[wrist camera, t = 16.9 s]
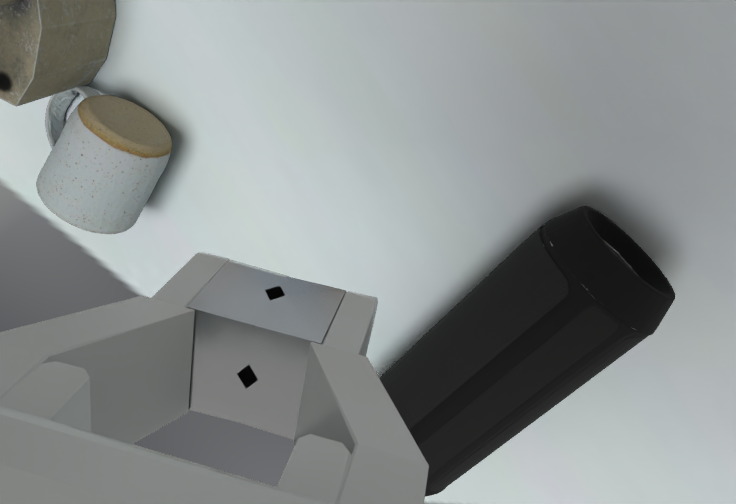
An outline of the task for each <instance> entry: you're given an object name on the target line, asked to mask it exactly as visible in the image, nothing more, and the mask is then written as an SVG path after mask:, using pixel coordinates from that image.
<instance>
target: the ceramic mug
mask: <svg viewBox="0 0 736 504" xmlns="http://www.w3.org/2000/svg"><path fill="white" fill-rule="evenodd" d="M78 92H79V93H80V94H81V95H83V97H84V98H85V99H84V100H83V101H82V102H80V104H79V105H78V106H77V107H76V108H75V109H74V111H73V112H72V113H71V115H70V117H69V118H68V120H67V122H66V124H65V126H64V117H65V112H66V110H67V108H68V106H69V105H70V103H71V102H72V100H73V99H74V98H75V97H76V95H77V93H78ZM45 126H46V132H47V137H48V140H49V143H50V146H51V148H52V151H51V153H50V155H49V157H48V158H47V160H46V162H45V164H44V166H43V168H42V170H41V171H40V173H39V175H38V178H37V182H36V186H37V191H38V194H39V196H40V198H41V199H42V201H43V203H44V204H45V205H46V207H47V208H49V209H50V210H51V211H52V212H53V213H54V214H56V215H57V216H58V217H59V218H61V219H62V220H64V221H66V222H68V223H69V224H71V225H74V226H76V227H78V228H81V229H83V230H86V231H90V232H94V233H101V234H116V233H121V232H124V231H126V230H128V229H129V228H131V227H132V226H133V225H134V224H135V223H136V221H137V219H138V217H139V215H140V213H141V212H142V210H143V208H144V206H145V204H146V202H147V201H148V199H149V197H150V195H151V193H152V191H153V189H154V187H155V185H156V183H157V181H158V179H159V178H160V176H161V174H162V173H163V171H164V169H165V167H166V165H167V163H168V160H169V157H170V153H171V149H172V141H171V137H170V135H169V133H168V131H167V130H166V128H165V127H164V125H163V124H162V123H161V122H160V121H159V120H158V119H157V118H156V117H155V116H154V115H152V114H151V113H150V112H148V111H147V110H145V109H143V108H142V107H140V106H138V105H136V104H135V103H132V102H130V101H128V100H125V99H122V98H119V97H115V96H109V95H100V94H99V93H98V92H97V91H95V90H94V89H92V88H91V87H88V86H84V85H83V86H77V87H75V88H73V89H70V90H67V91H64V92H60V93H57V94H54V95H52V97H51V99H50V100H49V103H48V106H47V110H46V116H45Z"/></svg>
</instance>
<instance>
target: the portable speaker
mask: <svg viewBox="0 0 736 504" xmlns="http://www.w3.org/2000/svg"><path fill="white" fill-rule="evenodd" d="M674 299H675V293H674V291H673V288H672V286H671V285H670V283H669V282H668V280H667V278H666V277H665V276H664V274H663V273H662V272H661V270H660V269H659V268H658V267H657V265H656V264H655V263H654V262H653V261H652V260H651V258H650V257H649V256H648V255H647V254H646V253H645V252H644V251H643V250H642V249H641V248H640V247H639V246H638V245H637V244H636V243H635V242H634V241H633V240H632V239H631V238H630V237H629V236H628V235H627V234H626V233H625V232H624V231H623V230H621V229H620V228H619V227H618V226H617V225H616V224H615V223H613V222H612V221H611V220H609V219H608V218H607V217H605V216H604V215H603V214H601V213H600V212H598V211H596V210H595V209H593V208H590V207H587V206H583V207H580V208H578V209H575V210H573V211H571V212H568V213H566V214H564V215H561V216H559V217H557V218H555V219H552V220H550V221H548V222H546V223H545V225H542V226H541V227H540V228H539V229H538V230H537V231H536V232H535V233H533V234H532V235H531V236H530V237H529V238H528V239H527V240H526V241H525V242H524V243H523V244H521V245H520V246H519V247H518V248H517V249H516V250H515V251H514V252H513V253H512V254H511V255H510V256H509V257H508V258H507V259H506V260H504V261H503V262H502V263H501V264H500V265H499V266H498V267H497V268H496V269H495V270H494V271H493V272H492V273H491V274H490V275H489V276H488V277H486V278H485V279H484V280H483V281H482V282H481V283H480V284H479V285H478V286H477V287H476V288H475V289H474V290H473V291H472V292H471V293H469V294H468V295H467V296H466V297H465V298H464V299H463V300H462V301H461V302H460V303H459V304H458V305H457V306H456V307H455V308H454V309H452V310H451V311H450V312H449V313H448V314H447V315H446V316H445V317H444V318H443V319H442V320H441V321H440V322H439V323H438V324H437V325H435V326H434V327H433V328H432V329H431V330H430V331H429V332H428V333H427V334H426V335H425V336H424V337H423V338H422V339H421V340H420V341H418V342H417V343H416V344H415V345H414V346H413V347H412V348H411V349H410V350H409V351H408V352H407V353H406V354H405V355H404V356H403V357H402V358H400V359H399V360H398V361H397V362H396V363H395V364H394V365H393V366H392V367H391V368H390V369H389V370H388V371H387V372H386V373H385V374H383V375H382V376H381V377H380V378H379V379H380V381H381V382H382V384H383V386H384V388H385V389H386V391H387V393H388V395H389V396H390V398H391V400H392V402H393V404H394V405H395V407H396V409H397V411H398V412H399V414H400V416H401V418H402V419H403V421H404V423H405V425H406V426H407V428H408V430H409V432H410V433H411V435H412V437H413V439H414V440H415V442H416V444H417V446H418V447H419V449H420V451H421V453H422V455H423V456H424V458H425V460H426V462H427V463H428V465H429V469H428V476H427V484H426V491H425V496H430V495H434V494H437V493H439V492H441V491H442V490H444V489H445V488H446V487H447V486H448V485H449V484H451V483H452V482H453V481H455V480H456V479H458V478H459V477H460V476H462V475H463V474H464V473H466V472H467V471H468V470H470V469H471V468H472V467H474V466H475V465H476V464H478V463H479V462H480V461H482V460H483V459H484V458H486V457H487V456H488V455H490V454H491V453H492V452H494V451H495V450H496V449H498V448H499V447H500V446H502V445H503V444H504V443H506V442H507V441H508V440H510V439H511V438H512V437H514V436H515V435H516V434H518V433H519V432H520V431H522V430H523V429H524V428H526V427H527V426H528V425H530V424H531V423H532V422H534V421H535V420H536V419H538V418H539V417H540V416H542V415H543V414H544V413H546V412H547V411H548V410H550V409H551V408H553V407H554V406H555V405H557V404H558V403H559V402H561V401H562V400H563V399H565V398H566V397H567V396H569V395H570V394H571V393H573V392H574V391H575V390H577V389H578V388H579V387H581V386H582V385H583V384H585V383H586V382H587V381H589V380H590V379H591V378H593V377H594V376H595V375H597V374H598V373H599V372H601V371H602V370H603V369H605V368H606V367H607V366H609V365H610V364H611V363H613V362H614V361H615V360H617V359H618V358H619V357H621V356H622V355H623V354H625V353H626V352H627V351H629V350H630V349H631V348H633V347H634V346H635V345H637V344H638V343H639V342H641V341H642V340H643V339H645V338H646V337H647V336H649V335H651V334H653V333H654V331H655V330H656V329H657V327H658V326H659V324H660V322H661V321H662V319H663V317H664V316H665V314H666V312H667V311H668V309H669V307H670V306H671V304H672V303H673V301H674Z"/></svg>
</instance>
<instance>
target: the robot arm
mask: <svg viewBox="0 0 736 504" xmlns="http://www.w3.org/2000/svg"><path fill="white" fill-rule="evenodd" d="M377 304H378V299H377V297H372V296H367V295H363V294H358V293H354V292H349V291H348V292H346V290H341V289H337V288H333V287H329V286H325V285H320V284H316V283H312V282H308V281H304V280H299V279H295V278H291V277H289V276H286V275H283V274H279V273H276V272H272V271H269V270H265V269H262V268H258V267H255V266H251V265H248V264H244V263H241V262H237V261H234V260H230V259H228V258H224V257H220V256H216V255H212V254H207V253H197V254H196V255H195V256H194V257H193V258H192V259H191V260H190V261H189V262H188V263H187V264H186V265H185V266H184V267H183V268H181V269H180V270H179V271H178V272H177V273H176V274H175V275H174V276H173V277H172V278H171V279H170V280H169V281H168V282H167V283H166V284H165V285H164V286H163V287H162V288H161V289H160V290H159V291H158V292H157V293H156V294H155V295H154V296H153V297H152V298H149V297H145V296H139V297H135V298H132V299H128V300H124V301H120V302H116V303H113V304H108V305H104V306H101V307H97V308H93V309H89V310H85V311H81V312H78V313H74V314H70V315H66V316H62V317H58V318H54V319H50V320H46V321H43V322H39V323H35V324H31V325H27V326H23V327H19V328H16V329H12V330H8V331H4V332H0V504H424V498H425V491H426V484H427V476H428V469H429V465H428V463H427V462H426V460H425V458H424V456H423V455H422V453H421V451H420V449H419V447H418V446H417V444H416V442H415V440H414V439H413V437H412V435H411V433H410V432H409V430H408V428H407V426H406V425H405V423H404V421H403V419H402V418H401V416H400V414H399V412H398V411H397V409H396V407H395V405H394V404H393V402H392V400H391V398H390V396H389V395H388V393H387V391H386V389H385V388H384V386H383V384H382V382H381V381H380V379H379V377H378V375H377V374H376V372H375V370H374V368H373V367H372V365H371V363H370V361H369V360H368V358H367V357H366V353H367V349H368V344H369V340H370V336H371V331H372V327H373V323H374V318H375V314H376V310H377ZM188 409H189V410H193V411H196V412H200V413H204V414H208V415H212V416H216V417H220V418H224V419H228V420H231V421H235V422H239V423H243V424H246V425H249V426H252V427H255V428H259V429H261V430H265V431H268V432H271V433H274V434H277V435H280V436H284V437H287V438H290V439H293V440H294V445H295V447H294V449H293V452H292V454H291V456H290V459H289V461H288V463H287V465H286V467H285V470H284V472H283V474H282V477H281V479H280V481H279V483H278V485H277V487H275V486H271V485H268V484H265V483H261V482H258V481H255V480H251V479H248V478H245V477H241V476H238V475H235V474H231V473H228V472H225V471H221V470H218V469H214V468H211V467H208V466H204V465H201V464H197V463H194V462H191V461H187V460H184V459H180V458H177V457H174V456H170V455H167V454H163V453H160V452H157V451H153V450H150V449H146V448H143V447H139V446H136V445H133V443H135V442H137V441H138V440H140V439H142V438H144V437H146V436H147V435H149V434H151V433H153V432H154V431H156V430H158V429H160V428H161V427H163V426H165V425H167V424H169V423H170V422H172V421H174V420H176V419H177V418H179V417H181V416H183V415H184V414H186V413H188Z"/></svg>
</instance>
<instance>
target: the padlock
mask: <svg viewBox="0 0 736 504" xmlns="http://www.w3.org/2000/svg"><path fill="white" fill-rule="evenodd" d="M115 18H116V12H115V0H0V99H2V100H4V101H6V102H8V103H10V104H12V105H14V106H19V105H22V104H26V103H29V102H32V101H35V100H38V99H41V98H45V97H48V96H51V95H54V94H57V93H60V92H64V91H67V90H70V89H73V88H75V87H77V86H83V85H86V84H89V83H90V82H91V81H92V79H93V78H94V76H95V75H96V73H97V72H98V70H99V69H100V67H101V66H102V64H103V63H104V61H105V60H106V57H107V53H108V49H109V44H110V40H111V35H112V31H113V26H114V22H115Z"/></svg>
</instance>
